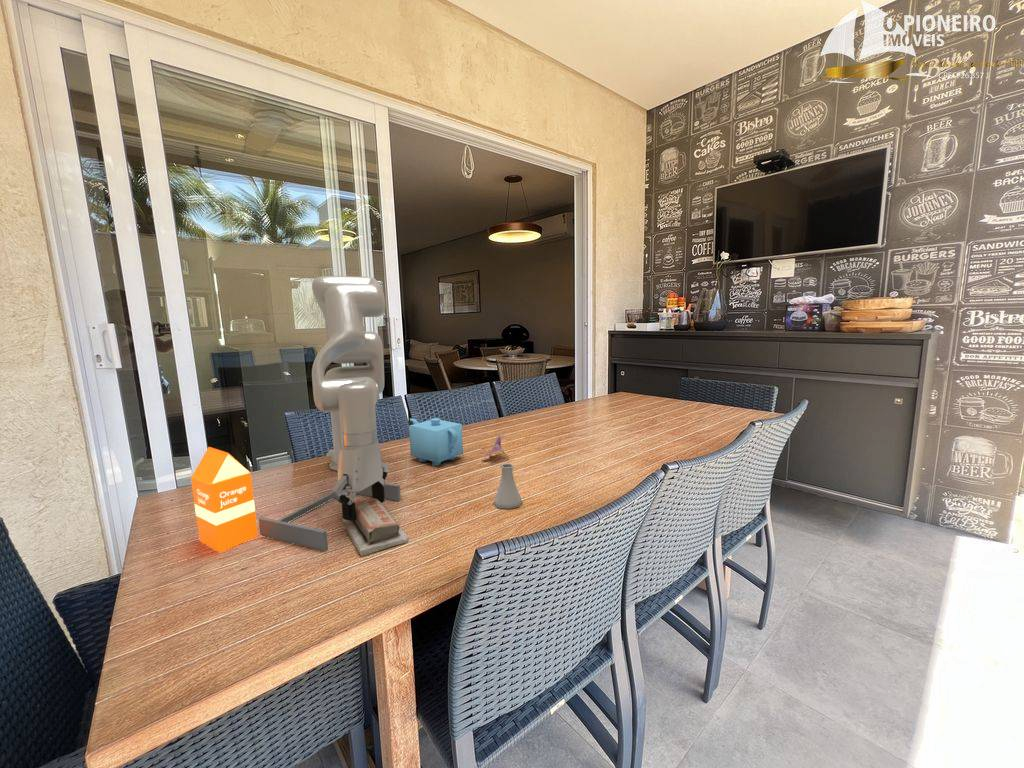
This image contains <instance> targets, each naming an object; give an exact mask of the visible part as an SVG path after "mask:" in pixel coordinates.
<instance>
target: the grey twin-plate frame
mask: <svg viewBox="0 0 1024 768" xmlns="http://www.w3.org/2000/svg"><path fill="white" fill-rule="evenodd" d="M372 485H374V484H372ZM372 485H371V486H369V487H367V488H365V489H363V490H362V491H360V492H357V493H356V495H358V494H360V496H364V495H365V497H369V498H372ZM349 489H352V488H351V487H350V488H349ZM342 492H343V491H342ZM384 494H385V500H389V501H396V502H400V501H401V500H402V498H401V485H400V484H396V483H395V484H394V483H388V482H386V483H385V485H384ZM332 498H334V495H333V493H332V492H330V493H327V494H326V495H324V496H322V497H320V498H318V499H316V500H314V501H313V502H310V503H308V504H307V505H304V506H302V507H301V508H298V509H297V510H295V511H293V512H291V513H289V514H287V515H285V516H283V517H281V518H279V519H278V520H276V519H272V518H268V517H264V516H262V517H259V518H258V524H259V525H258V526H259V527H258V528H259V535H262V536H265V537H264V538H267V537H269V538H268V539H271V538H273V539H272V540H275V539H277V541H280V540H281V541H280V542H284V541H285V542H284V543H288V542H289V543H288V544H292V543H294V544H293V545H298V546H301V545H302V547H305V546H306V548H310V549H314V550H315V549H316V550H319V551H322V550H323V552H326V551H327V550H329V547H328V546H329V545H328V537H327V535H328V534H327V530H326V529H324V530H323V529H319V528H315V527H311V526H305V525H301V524H296V523H291V522H292V521H291V520H293V519H294V518H296V517H298V516H300V515H302V514H304V513H306V512H307V511H309V510H311V509H313V508H315V507H317V506H319V505H321V504H323V503H324V502H326V501H328V500H330V499H332ZM334 499H335V498H334ZM332 500H333V499H332ZM330 501H331V500H330ZM323 505H324V504H323ZM321 506H322V505H321ZM319 507H320V506H319ZM317 508H318V507H317ZM306 514H307V513H306ZM304 515H305V514H304ZM289 521H291V522H290V523H288V522H289ZM293 521H294V520H293ZM262 536H261V537H262Z"/></svg>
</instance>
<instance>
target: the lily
mask: <svg viewBox="0 0 1024 768" xmlns="http://www.w3.org/2000/svg"><path fill="white" fill-rule="evenodd" d="M504 435H506V432H503V434H502V433H500V434H499V435H498V436H497V438H496V440H495V441H494V442H490V446H491V445H492V446H493V447H492V448H491V449H490V450H489V451H488V452H487V453H486V454H485V455H484V457H483V459H482V460H481V462H483V461H484V459H485V458H486V457H487V455H489V456H491V454H492V453H496V452H502V453H503V454H504V455H505V457H506V459H507V460H508V459H509V457H508V455H507V454H506V453H505V451H504V450H503V449H502V440H503V437H504Z"/></svg>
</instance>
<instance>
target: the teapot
mask: <svg viewBox="0 0 1024 768" xmlns="http://www.w3.org/2000/svg"><path fill="white" fill-rule="evenodd" d="M409 420H410V421H411V423H412V424H409V426H408V430H409V432H408V434H409V447H410V448H409V450H410V456H412V457H415V458H418V462H420V463H423V462H426V461H430V462H432V464H431V465H432V466H433V467H434V466H435V467H436V466H437V467H438V466H441V465H442V463H441V462H444V461H448V460H449V461H454V460H456V458H457V457H458V456H460V455H463V454H464V446H463V444H464V443H463V424H462V423H457V422H454V421H448V420H443V419H441V418H438V417H433V418H431V419H428V420H425V421H422V422H419V421H418V419H416V418H409Z"/></svg>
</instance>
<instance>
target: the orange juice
mask: <svg viewBox="0 0 1024 768" xmlns="http://www.w3.org/2000/svg"><path fill="white" fill-rule="evenodd" d="M190 480H191V481H190V482H191V487H192V495H193V500H194V504H193V505H194V510H195V511H194V512H195V516H196V523H197V528H198V538H199V542H200V541H201V542H202V543H201V542H200V543H201V544H203V543H204V544H206V545H208V546H210V547H211V548H213V549H214V550H213V549H212V550H213V551H215V550H216V551H215V552H217V551H218V552H222V553H224V552H226V551H225V550H227V549H229V550H231V549H233V548H232V547H234V546H236V547H238V546H240V545H239V544H241V543H243V544H245V543H246V542H245V541H248V540H250V539H252V538H255V537H256V536H258V537H259V535H258V534H259V533H258V524H257V516H256V506H255V499H254V498H255V497H254V490H253V483H252V473H251V471H249V469H247V468H246V467H244V465H243V464H241V463H240V462H239V461H238V460H237V459H235V458H234V456H232V455H231V454H230V453H229V452H226V451H224V450H220V449H217V448H214V447H211V446H208V447H207V449H206V451H205V452H204V455H203V456H202V457H201V459H200V460H199V463H198V465H197V467H196V468H195V470H194V472H193V474H192V475H191V476H190ZM255 539H256V538H255ZM252 540H253V539H252ZM250 541H251V540H250ZM244 542H245V543H244ZM248 542H249V541H248ZM204 544H203V545H204ZM206 545H205V546H206ZM237 545H238V546H237ZM241 545H242V544H241ZM208 546H207V547H208ZM210 547H209V548H210ZM211 548H210V549H211ZM230 548H231V549H230ZM234 548H235V547H234ZM223 551H224V552H223ZM227 551H228V550H227ZM218 552H217V553H218Z"/></svg>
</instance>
